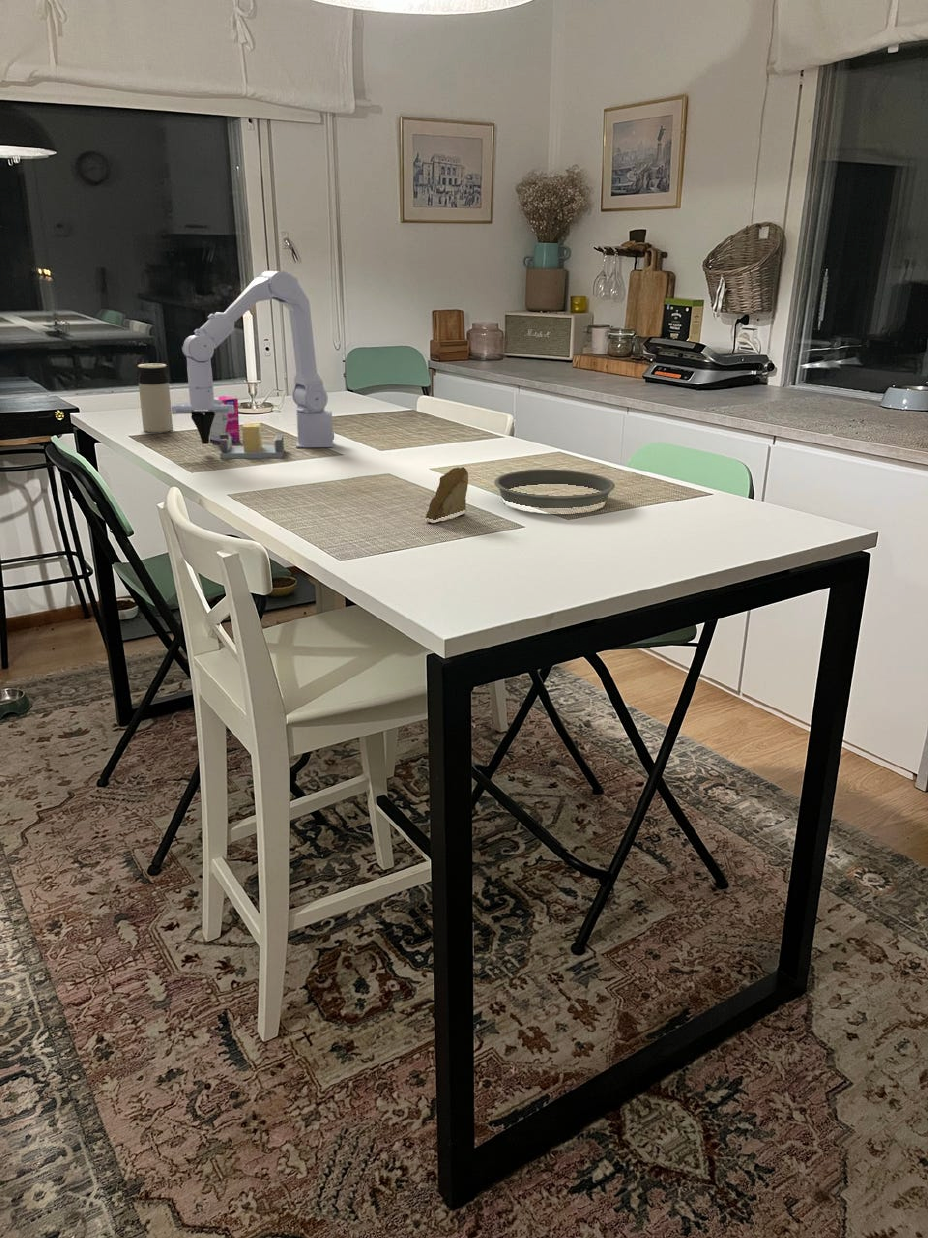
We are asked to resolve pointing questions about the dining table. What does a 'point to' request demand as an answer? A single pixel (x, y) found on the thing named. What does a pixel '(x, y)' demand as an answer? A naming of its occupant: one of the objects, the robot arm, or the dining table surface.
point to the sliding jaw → (225, 441)
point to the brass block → (252, 437)
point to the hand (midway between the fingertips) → (205, 442)
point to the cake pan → (553, 477)
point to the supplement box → (225, 421)
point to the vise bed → (265, 452)
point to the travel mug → (155, 398)
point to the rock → (449, 494)
